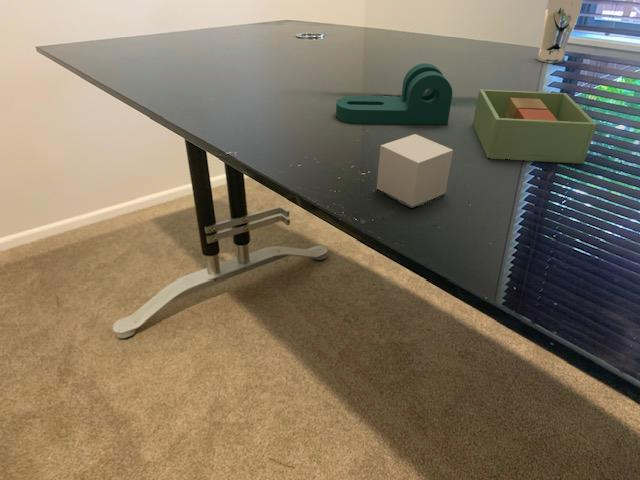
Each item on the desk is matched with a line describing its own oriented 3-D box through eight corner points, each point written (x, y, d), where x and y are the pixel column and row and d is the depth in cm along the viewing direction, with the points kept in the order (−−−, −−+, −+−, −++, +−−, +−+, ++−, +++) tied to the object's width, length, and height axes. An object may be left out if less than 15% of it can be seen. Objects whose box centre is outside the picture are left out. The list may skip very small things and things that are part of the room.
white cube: (445, 195, 62) (453, 149, 59) (411, 210, 59) (418, 163, 56) (409, 177, 66) (415, 133, 63) (376, 190, 63) (380, 145, 59)
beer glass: (566, 65, 113) (587, -9, 105) (533, 62, 115) (551, -11, 107) (565, 58, 119) (585, -13, 110) (534, 55, 121) (551, -15, 112)
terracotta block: (541, 139, 75) (549, 110, 73) (549, 151, 72) (558, 121, 69) (510, 137, 76) (517, 108, 73) (517, 149, 72) (525, 119, 69)
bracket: (438, 110, 87) (445, 63, 83) (447, 124, 82) (455, 75, 77) (335, 108, 87) (336, 62, 83) (336, 123, 81) (338, 73, 77)
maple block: (532, 126, 79) (540, 98, 77) (540, 137, 76) (548, 108, 73) (503, 125, 80) (510, 97, 77) (509, 136, 76) (516, 107, 73)
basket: (555, 128, 81) (566, 93, 78) (583, 164, 70) (597, 124, 67) (472, 124, 82) (479, 89, 79) (487, 158, 71) (496, 119, 68)
